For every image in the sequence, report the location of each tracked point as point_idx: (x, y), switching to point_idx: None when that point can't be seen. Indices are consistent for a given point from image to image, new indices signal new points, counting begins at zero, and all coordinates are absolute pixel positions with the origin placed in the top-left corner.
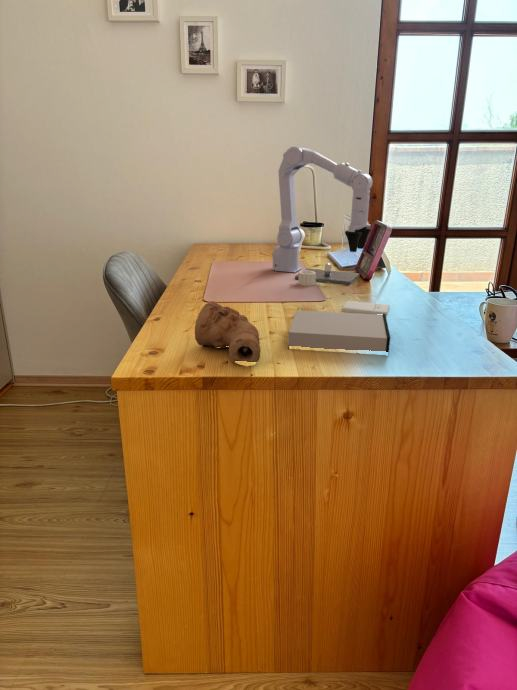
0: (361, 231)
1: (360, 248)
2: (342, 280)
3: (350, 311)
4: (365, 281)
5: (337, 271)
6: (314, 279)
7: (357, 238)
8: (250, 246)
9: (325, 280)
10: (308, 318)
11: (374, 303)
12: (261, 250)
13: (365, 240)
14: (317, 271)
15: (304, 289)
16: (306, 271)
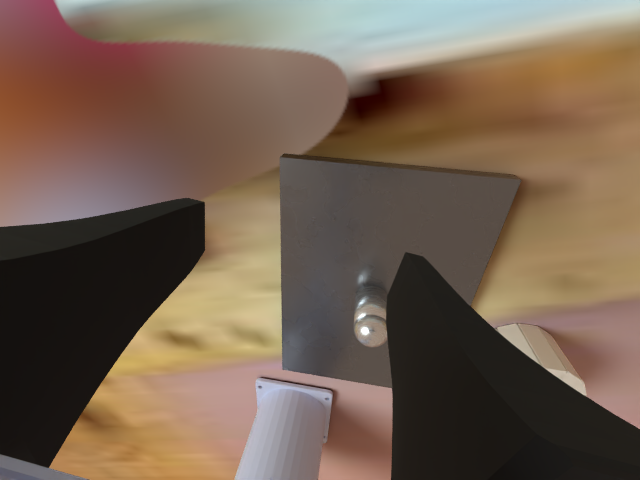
0: (34, 378)
1: (203, 227)
2: (490, 225)
3: None
4: (409, 95)
5: (284, 266)
6: (545, 344)
7: (560, 387)
8: None
9: (470, 295)
10: None
11: None
12: (89, 459)
13: (137, 224)
14: (318, 337)
15: (626, 350)
16: None
